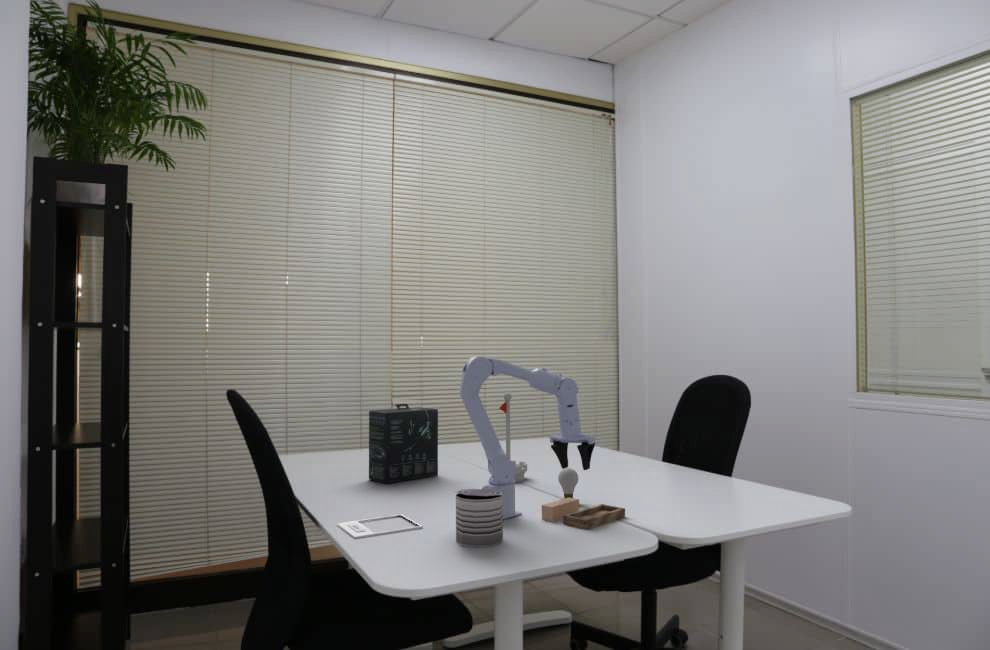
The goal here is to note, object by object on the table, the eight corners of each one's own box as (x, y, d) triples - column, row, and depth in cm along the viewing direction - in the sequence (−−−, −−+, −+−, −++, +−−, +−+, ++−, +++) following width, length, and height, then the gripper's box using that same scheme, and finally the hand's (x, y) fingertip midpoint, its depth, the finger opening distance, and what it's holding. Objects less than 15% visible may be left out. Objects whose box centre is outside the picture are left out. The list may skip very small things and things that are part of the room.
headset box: (419, 471, 252) (419, 401, 253) (439, 475, 243) (439, 403, 244) (367, 479, 237) (366, 405, 238) (386, 484, 228) (386, 407, 229)
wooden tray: (586, 529, 171) (586, 520, 171) (563, 524, 177) (563, 515, 177) (625, 516, 183) (624, 508, 183) (602, 512, 189) (602, 504, 189)
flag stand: (503, 474, 245) (502, 390, 246) (534, 477, 238) (533, 391, 238) (482, 480, 235) (481, 392, 235) (513, 484, 227) (512, 394, 228)
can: (445, 540, 163) (445, 490, 163) (480, 531, 171) (480, 483, 171) (478, 550, 154) (478, 497, 155) (513, 540, 162) (512, 489, 163)
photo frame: (336, 522, 178) (401, 513, 187) (336, 527, 178) (401, 517, 187) (354, 536, 165) (422, 525, 174) (354, 540, 165) (422, 529, 174)
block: (552, 522, 179) (551, 507, 179) (541, 520, 182) (541, 505, 182) (579, 513, 188) (579, 499, 188) (569, 511, 190) (568, 497, 190)
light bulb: (567, 498, 205) (566, 465, 205) (582, 502, 201) (582, 467, 201) (554, 502, 201) (554, 468, 201) (570, 505, 197) (569, 470, 197)
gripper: (598, 417, 188) (605, 466, 188) (558, 417, 198) (564, 464, 198) (583, 422, 183) (590, 472, 183) (542, 422, 193) (548, 469, 193)
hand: (575, 468), depth 190 cm, fingers open, 7 cm apart
